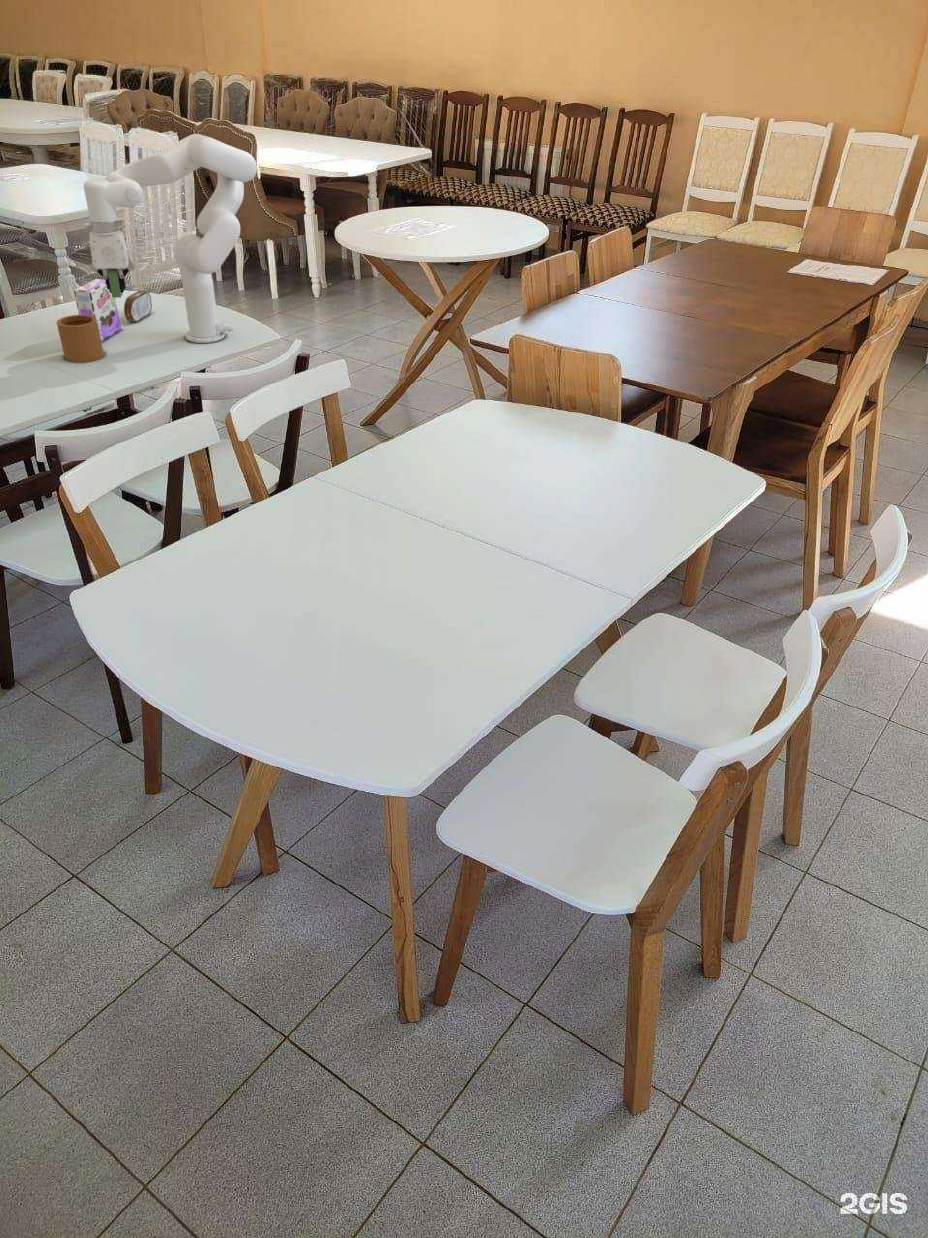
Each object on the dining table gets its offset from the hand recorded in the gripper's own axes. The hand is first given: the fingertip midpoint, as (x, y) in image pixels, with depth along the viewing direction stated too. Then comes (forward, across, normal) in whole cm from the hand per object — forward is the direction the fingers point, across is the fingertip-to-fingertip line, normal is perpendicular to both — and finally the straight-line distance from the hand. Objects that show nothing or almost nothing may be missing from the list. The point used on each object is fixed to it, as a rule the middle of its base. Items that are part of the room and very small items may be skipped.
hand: (117, 290), depth 275 cm
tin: (+19, 0, +35) cm, 40 cm away
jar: (+19, -13, 0) cm, 23 cm away
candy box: (+19, -10, +18) cm, 29 cm away
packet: (+1, 0, 0) cm, 1 cm away
